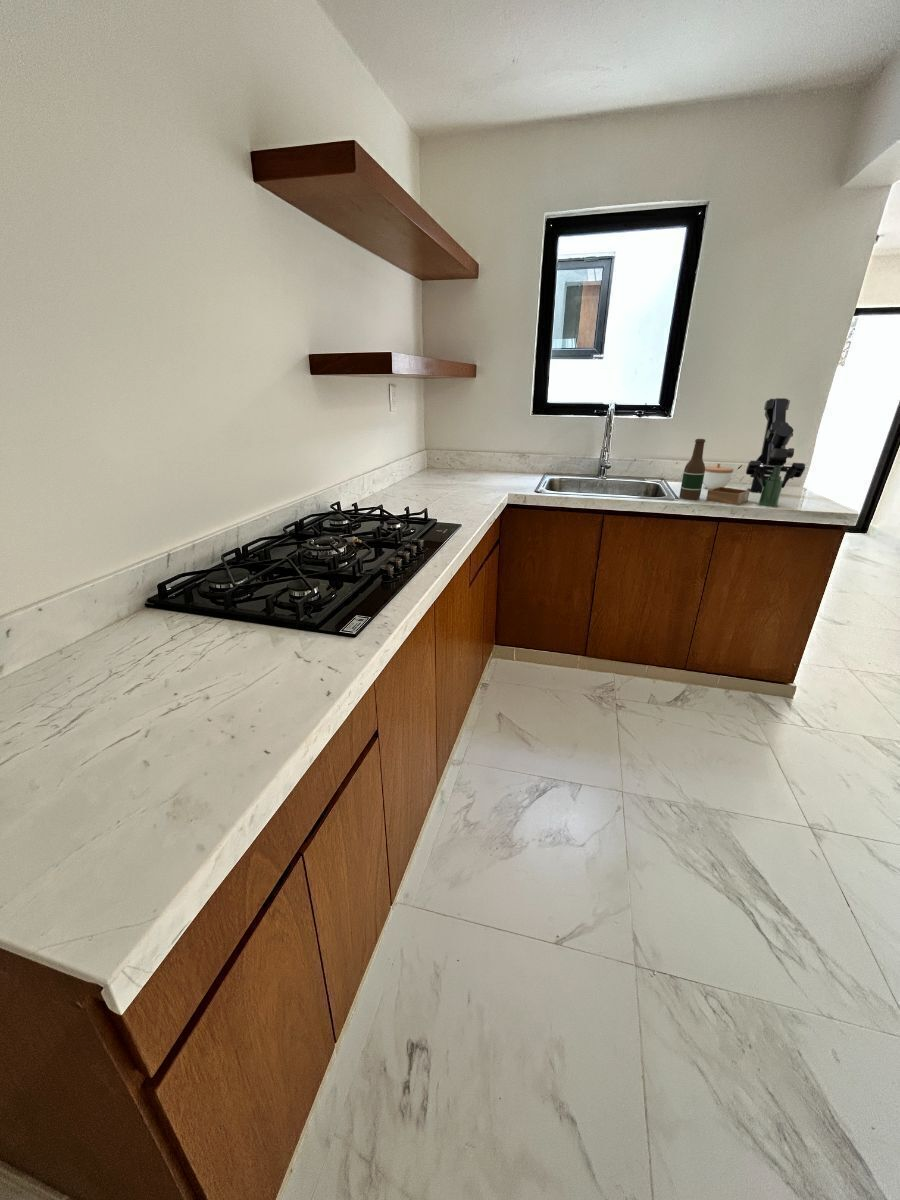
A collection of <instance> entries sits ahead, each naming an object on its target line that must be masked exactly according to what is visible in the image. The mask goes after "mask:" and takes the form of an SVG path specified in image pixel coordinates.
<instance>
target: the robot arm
mask: <svg viewBox="0 0 900 1200" xmlns="http://www.w3.org/2000/svg"><path fill="white" fill-rule="evenodd" d="M790 402H791V400H789V399H788V398H785V397H783V398H780V397H778V398H777V397H776V398H769V399H768V400H766V401H765V403H764V407H763V411H764V417H765V419H766V421H767V422H766V426H765V432H764V436H763V443H762V446H761V452H760V455H759V456H758V458H757V459H756V460H750V461H749V462H748V464H747V467H746V471H745V474H746V475H749V477H750V478H752V482H751V486H750V488H747V490H748V491H750V492H752V493H761V492H762V488H763V487H764V483H765V479H769V475H772V471H773V467H774V466H780V467H782V468H781V472H780V473H785V474H784V477H783V480H784V483H783V487H782V489H784V488H785V486H786V484H787V483H788V482H789V480H790V479H794V478H801V477H802V475H803V473H804V471H805V470H806V464H805V463H804V462H792V464H791V466H787V465H786V463H787V459H792V458H793V457H794V455H795V448H793V447H788V448H786V446H788V444H789V441H790V440H791V438H792V437H793V436H794V428H793V427H792V426H791V425H790V424H789V423H788V422H787V421H786V420H787V411H788V410H789V407H790Z"/></svg>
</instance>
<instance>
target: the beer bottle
mask: <svg viewBox="0 0 900 1200" xmlns="http://www.w3.org/2000/svg"><path fill="white" fill-rule="evenodd" d="M694 443H695V444H694V447H693V451H692V455H691V458H690V460H689V461H688V462H687V463H686V465H685V467H684V469H683V470H684V471H683V474H682V480H681V486H680V490H679V499H681V500H686V501H698V500H700V497H701V493H702V487H703V485H704V484H703V479H704V474H705V466H706V465H705V462H704V461H703V455H704V449H705V443H706V439H705V438H696V439H695V440H694Z"/></svg>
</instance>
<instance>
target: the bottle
mask: <svg viewBox="0 0 900 1200" xmlns="http://www.w3.org/2000/svg"><path fill="white" fill-rule="evenodd" d="M781 468H782V467H780V466H774V467H773V471H772V475H769V478H768V479H765V483H764V487H763V488H762V492H760V496H759V501H758V505H759V506H761V507H772V508H775V507H778V506H779V501H780V497H781V494H782V491H783V488H782V487H783V483H784V479H782V475H781V473H782V472H781Z"/></svg>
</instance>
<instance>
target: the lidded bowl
mask: <svg viewBox="0 0 900 1200" xmlns="http://www.w3.org/2000/svg"><path fill="white" fill-rule="evenodd" d="M733 473H734V468H733V467H727V466H721V463H717V464H716V465H707V466H706V465H705V474H704V479H703V484H702V485H703V486H704V488H705V489H708V490H711V489H714V488H718V487H725V488H726V486H728V484H729V483H730V481H731V479H732V476H733Z"/></svg>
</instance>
